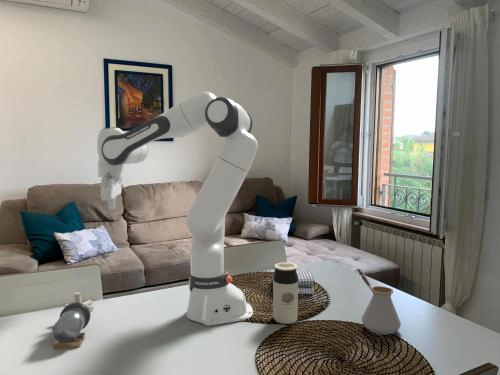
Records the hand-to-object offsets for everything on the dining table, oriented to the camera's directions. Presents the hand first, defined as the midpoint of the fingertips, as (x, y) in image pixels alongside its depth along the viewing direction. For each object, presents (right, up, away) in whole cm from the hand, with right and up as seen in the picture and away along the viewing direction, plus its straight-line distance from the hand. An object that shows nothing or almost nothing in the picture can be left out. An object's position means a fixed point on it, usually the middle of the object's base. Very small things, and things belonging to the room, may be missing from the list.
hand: (112, 209), depth 144 cm
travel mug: (+63, -35, -17) cm, 74 cm away
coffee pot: (+91, -36, -19) cm, 99 cm away
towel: (+69, -33, +13) cm, 77 cm away
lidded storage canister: (-1, -36, -31) cm, 48 cm away
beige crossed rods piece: (-3, -35, -21) cm, 41 cm away
